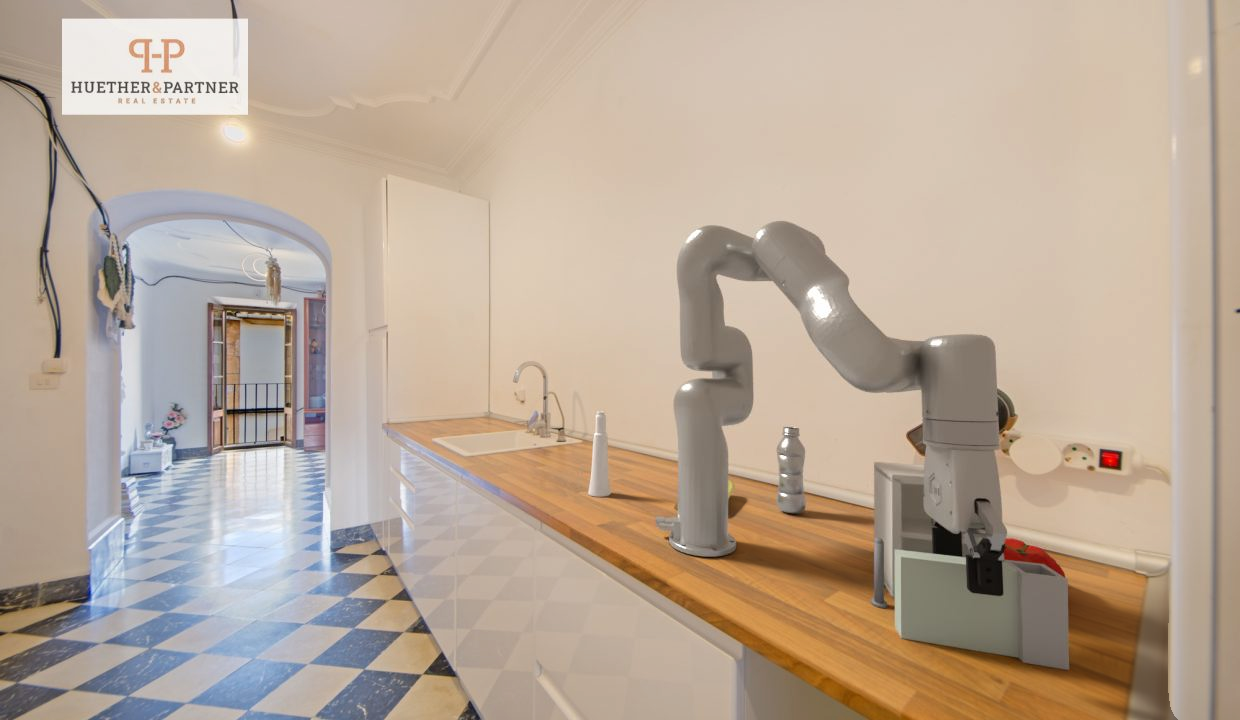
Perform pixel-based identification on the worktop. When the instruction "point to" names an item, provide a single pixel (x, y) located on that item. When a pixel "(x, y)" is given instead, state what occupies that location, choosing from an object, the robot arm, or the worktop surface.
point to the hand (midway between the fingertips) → (964, 574)
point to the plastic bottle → (791, 472)
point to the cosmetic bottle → (600, 460)
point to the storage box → (983, 608)
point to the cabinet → (899, 522)
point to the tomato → (1029, 554)
